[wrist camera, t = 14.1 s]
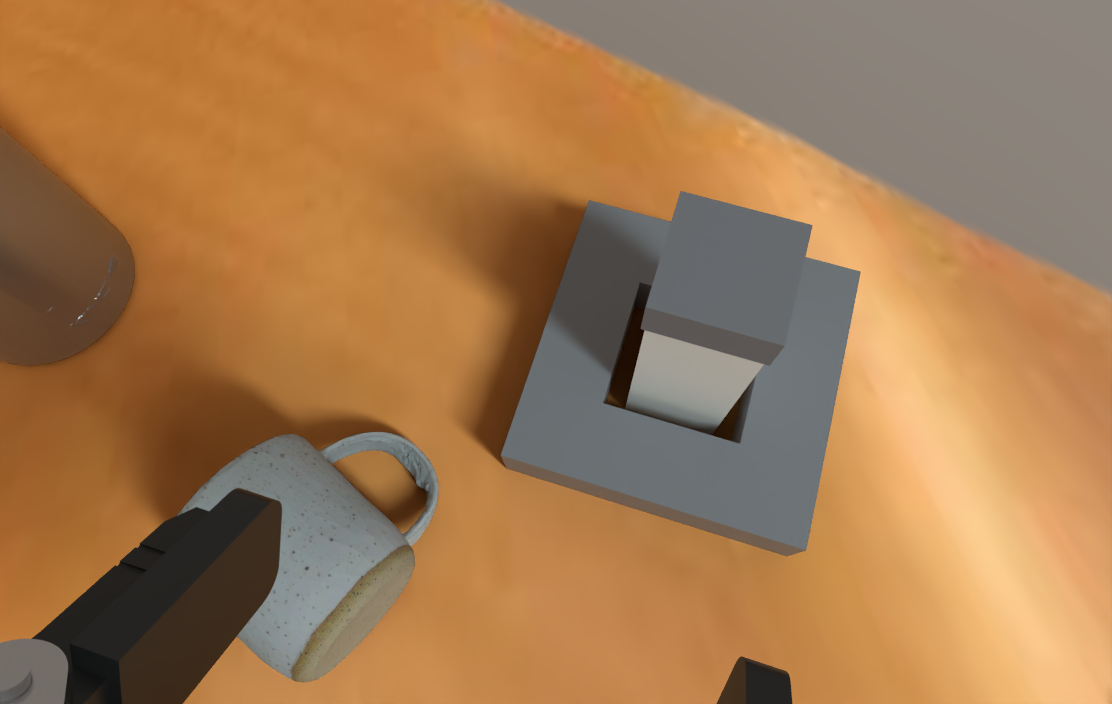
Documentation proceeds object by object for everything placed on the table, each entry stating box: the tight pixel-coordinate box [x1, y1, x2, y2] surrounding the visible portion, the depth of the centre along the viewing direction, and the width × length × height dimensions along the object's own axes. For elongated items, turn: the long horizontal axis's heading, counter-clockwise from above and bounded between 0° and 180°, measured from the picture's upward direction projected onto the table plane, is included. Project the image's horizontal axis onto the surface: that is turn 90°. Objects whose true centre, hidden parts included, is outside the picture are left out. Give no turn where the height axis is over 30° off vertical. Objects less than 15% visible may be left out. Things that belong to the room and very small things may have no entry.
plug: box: [625, 191, 812, 435], centre depth 32 cm, size 5×5×13 cm
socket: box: [501, 200, 860, 556], centre depth 36 cm, size 14×14×4 cm
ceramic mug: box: [177, 432, 438, 682], centre depth 32 cm, size 11×8×8 cm
